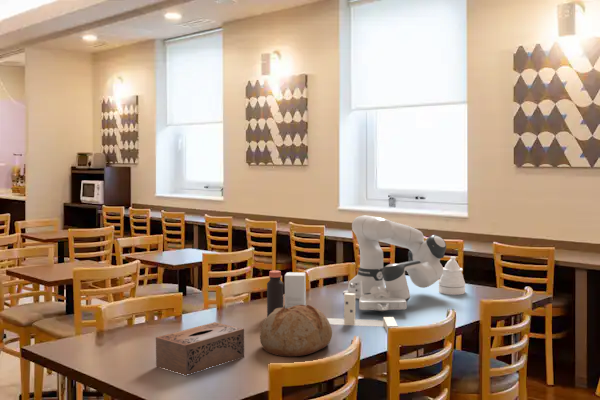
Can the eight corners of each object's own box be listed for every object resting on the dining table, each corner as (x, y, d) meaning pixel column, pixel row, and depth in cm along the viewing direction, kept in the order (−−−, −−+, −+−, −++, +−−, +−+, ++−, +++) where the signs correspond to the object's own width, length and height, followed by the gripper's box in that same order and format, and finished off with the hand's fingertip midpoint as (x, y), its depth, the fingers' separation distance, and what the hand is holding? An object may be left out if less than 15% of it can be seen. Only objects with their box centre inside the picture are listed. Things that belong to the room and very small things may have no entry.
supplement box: (306, 304, 307) (306, 272, 306) (304, 308, 298) (304, 275, 297) (286, 304, 308) (286, 271, 307) (284, 308, 299) (284, 275, 298)
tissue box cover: (185, 377, 207) (185, 345, 206) (156, 367, 216) (155, 337, 216) (244, 357, 227) (244, 328, 226) (215, 350, 236) (214, 322, 235)
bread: (298, 334, 256) (298, 295, 255) (345, 346, 240) (345, 304, 239) (247, 349, 236) (247, 307, 235) (295, 363, 220) (295, 318, 219)
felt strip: (305, 324, 271) (305, 323, 270) (308, 318, 280) (308, 317, 280) (394, 328, 264) (394, 327, 264) (395, 321, 274) (395, 320, 274)
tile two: (345, 322, 272) (345, 293, 272) (355, 322, 271) (355, 293, 271) (344, 324, 269) (344, 294, 268) (353, 324, 268) (354, 295, 267)
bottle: (269, 321, 276) (268, 273, 274) (265, 317, 282) (265, 270, 281) (285, 320, 278) (285, 272, 276) (281, 316, 284) (281, 269, 283)
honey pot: (467, 294, 328) (468, 258, 327) (441, 294, 328) (441, 258, 327) (461, 289, 341) (462, 254, 339) (436, 289, 341) (437, 254, 340)
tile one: (383, 317, 268) (387, 326, 256) (393, 316, 268) (397, 325, 256) (383, 324, 268) (387, 334, 256) (393, 324, 268) (397, 334, 256)
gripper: (404, 307, 292) (409, 315, 278) (357, 308, 292) (360, 316, 278) (404, 293, 291) (409, 300, 277) (357, 293, 291) (360, 301, 278)
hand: (384, 308), depth 278 cm, fingers closed
